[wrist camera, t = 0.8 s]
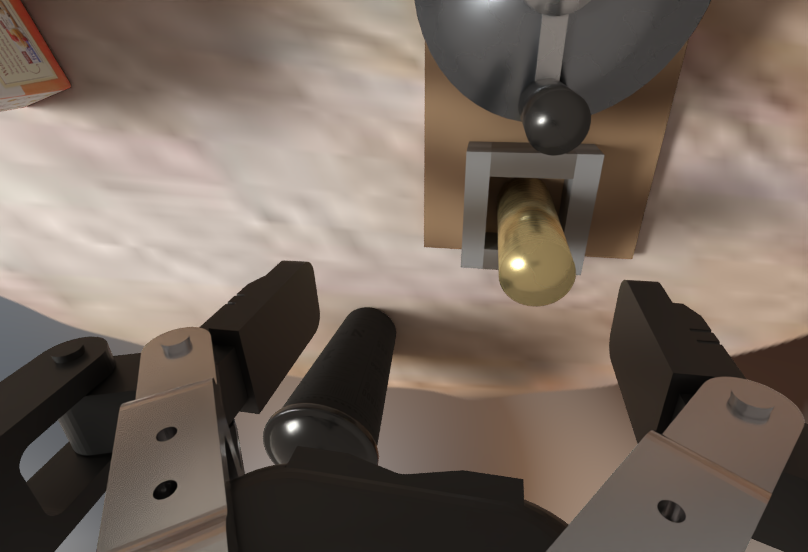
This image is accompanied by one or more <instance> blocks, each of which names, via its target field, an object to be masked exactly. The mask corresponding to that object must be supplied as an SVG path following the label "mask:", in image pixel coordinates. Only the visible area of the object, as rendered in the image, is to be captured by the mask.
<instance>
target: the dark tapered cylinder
mask: <svg viewBox="0 0 808 552" xmlns="http://www.w3.org/2000/svg"><path fill="white" fill-rule="evenodd" d="M395 338H396V328H395V325H394V323H393V322H392V320H391V319H390V318H389V317H388V316H387V315H386V314H385V313H383V312H381V311H379V310H377V309H374V308H359V309H356V310H354V311H352V312H351V313H350V314H349V315H348V316H347V317H346V319H345V320H344V322H343V323H342V325H341V326H340V327H339V329H338V330H337V332H336V333H335V334H334V336H333V337H332V339H331V340H330V341H329V343H328V344H327V346H326V347H325V348H324V350H323V351H322V353H321V354H320V355H319V357H318V358H317V360H316V361H315V362H314V364H313V365H312V367H311V368H310V370H309V371H308V372H307V374H306V375H305V377H304V378H303V379H302V381H301V382H300V384H299V385H298V386H297V388H296V389H295V391H294V392H293V394H292V395H291V396H290V398H289V399H288V401H287V402H286V403H285V405H284V406H283V408H282V409H280V410H278V411H277V412H275V413H274V414H273V415H272V416H271V418H270V419H269V421H268V422H267V424H266V426H265V428H264V432H263V442H264V447H265V450H266V452H267V454H268V456H269V458H270V459H271V460H272V462H273V463H274V464H275V465H278V464H285V463H288V462H289V460H290V458H291V456H292V455H293V453H294V451H295V449H296V447H297V446H302V447H309V448H316V449H323V450H329V451H336V452H343V453H349V454H351V455H354V456H356V457H359V458H361V459H363V460H366V461H368V462H371V463H373V464H376V465H378V461H379V454H378V449H377V444H378V438H379V432H380V426H381V420H382V415H383V409H384V403H385V396H386V391H387V385H388V379H389V374H390V368H391V362H392V356H393V350H394V344H395Z"/></svg>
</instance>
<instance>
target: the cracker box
mask: <svg viewBox="0 0 808 552" xmlns="http://www.w3.org/2000/svg"><path fill="white" fill-rule="evenodd" d="M68 88H71V85H70V82H69V81H68V79H67V78H66V76H65V74H64V73H63V71H62V69H61V68H60V66H59V64H58V63H57V61H56V59H55V58H54V56H53V54H52V53H51V51H50V49H49V48H48V46H47V44H46V42H45V41H44V39H43V37H42V36H41V34H40V32H39V31H38V29H37V27H36V26H35V24H34V22H33V21H32V19H31V17H30V16H29V14H28V12H27V11H26V9H25V7H24V6H23V4H22V2H21V1H20V0H0V112H1V111H7V110H12V109H18V108H24V107H26V106H28V105H31V104H33V103H36V102H38V101H40V100H42V99H45V98H47V97H49V96H52V95H54V94H56V93H59V92H61V91H63V90H66V89H68Z"/></svg>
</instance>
